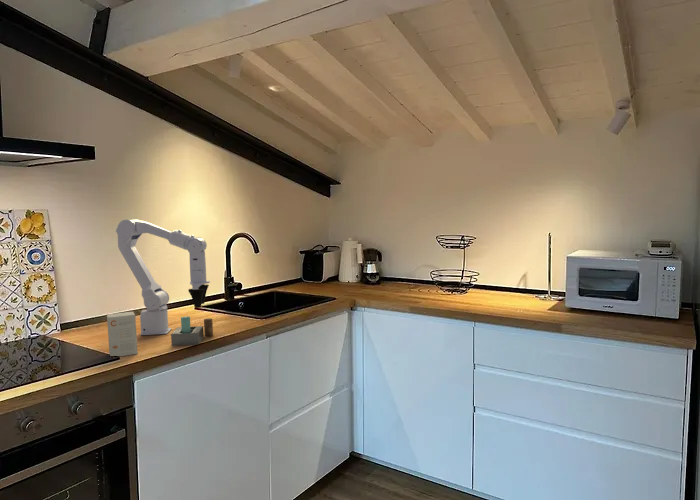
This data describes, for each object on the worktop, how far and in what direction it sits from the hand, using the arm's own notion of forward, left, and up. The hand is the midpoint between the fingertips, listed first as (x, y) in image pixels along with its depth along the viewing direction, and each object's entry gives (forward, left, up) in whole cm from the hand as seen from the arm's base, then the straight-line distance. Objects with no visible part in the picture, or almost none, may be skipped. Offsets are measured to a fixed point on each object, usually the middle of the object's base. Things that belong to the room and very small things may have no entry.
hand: (199, 305), depth 189 cm
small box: (-20, -26, -10) cm, 34 cm away
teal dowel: (-2, -16, -9) cm, 19 cm away
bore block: (-2, -14, -10) cm, 17 cm away
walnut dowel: (+4, -7, -10) cm, 13 cm away
